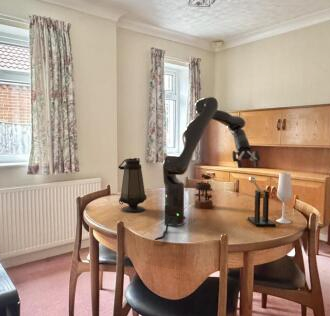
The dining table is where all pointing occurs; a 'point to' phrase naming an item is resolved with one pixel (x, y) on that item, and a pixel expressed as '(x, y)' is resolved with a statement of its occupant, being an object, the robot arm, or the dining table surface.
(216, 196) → the dining table surface
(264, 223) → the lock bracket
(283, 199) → the champagne flute
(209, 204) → the dark brown tall piece
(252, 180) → the latch lever
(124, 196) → the lantern
